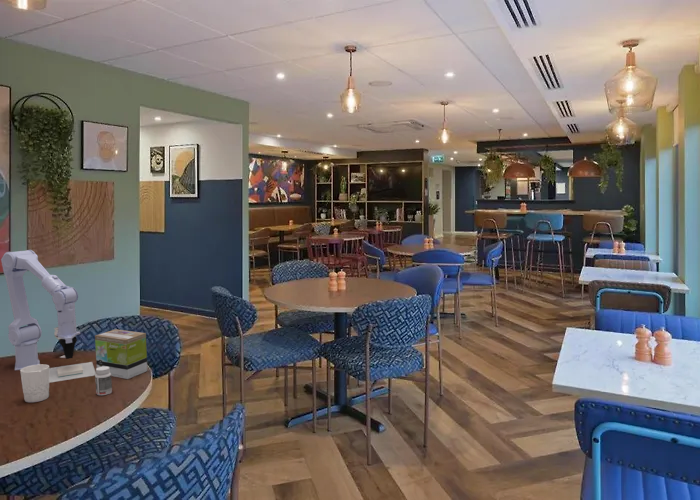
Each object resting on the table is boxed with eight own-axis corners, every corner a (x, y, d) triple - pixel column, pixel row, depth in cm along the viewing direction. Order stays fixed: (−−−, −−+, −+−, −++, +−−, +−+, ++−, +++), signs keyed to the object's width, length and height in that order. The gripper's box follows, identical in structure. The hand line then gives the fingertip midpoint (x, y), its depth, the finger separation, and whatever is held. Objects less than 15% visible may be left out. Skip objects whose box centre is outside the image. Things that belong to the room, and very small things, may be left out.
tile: (57, 368, 194) (57, 373, 188) (81, 364, 198) (82, 369, 192) (57, 372, 194) (57, 377, 188) (81, 368, 198) (83, 373, 192)
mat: (44, 369, 198) (44, 368, 198) (92, 362, 206) (91, 361, 206) (45, 384, 182) (45, 383, 182) (96, 375, 191) (96, 375, 191)
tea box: (95, 374, 192) (93, 334, 190) (117, 366, 201) (115, 328, 200) (127, 380, 186) (125, 338, 185) (148, 371, 195) (146, 331, 194)
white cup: (56, 396, 171) (54, 366, 170) (33, 405, 164) (30, 373, 163) (40, 392, 174) (38, 363, 173) (16, 401, 167) (14, 370, 166)
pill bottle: (115, 391, 175) (114, 366, 174) (104, 396, 171) (103, 371, 170) (104, 389, 177) (102, 365, 176) (92, 394, 172) (91, 369, 171)
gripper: (80, 324, 188) (82, 361, 190) (77, 316, 201) (79, 351, 202) (58, 326, 185) (60, 364, 186) (56, 318, 197) (58, 354, 199)
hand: (69, 358), depth 194 cm, fingers closed
